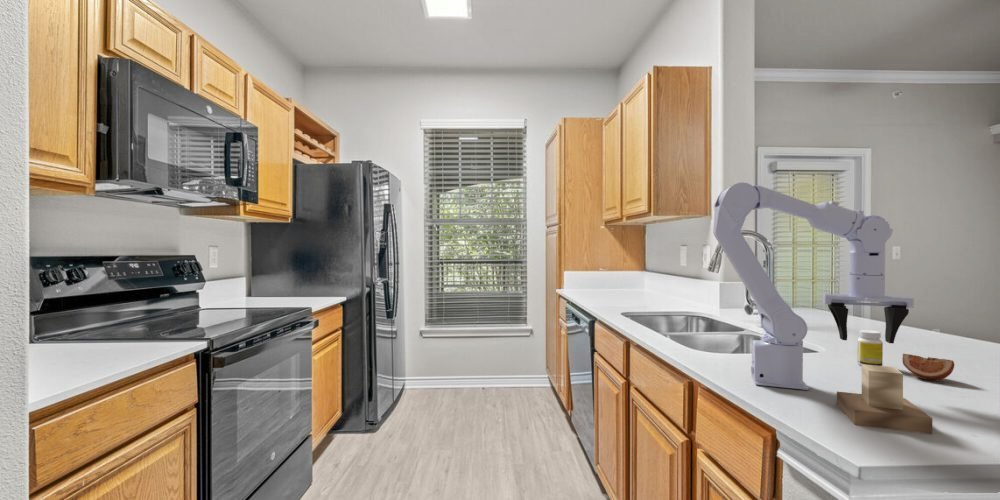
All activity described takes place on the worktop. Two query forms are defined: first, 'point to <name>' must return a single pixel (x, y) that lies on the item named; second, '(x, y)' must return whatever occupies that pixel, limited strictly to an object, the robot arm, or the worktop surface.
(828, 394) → the worktop surface
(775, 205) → the robot arm
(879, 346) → the supplement bottle
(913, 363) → the fruit slice
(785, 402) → the worktop surface
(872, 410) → the walnut block
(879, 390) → the birch block
